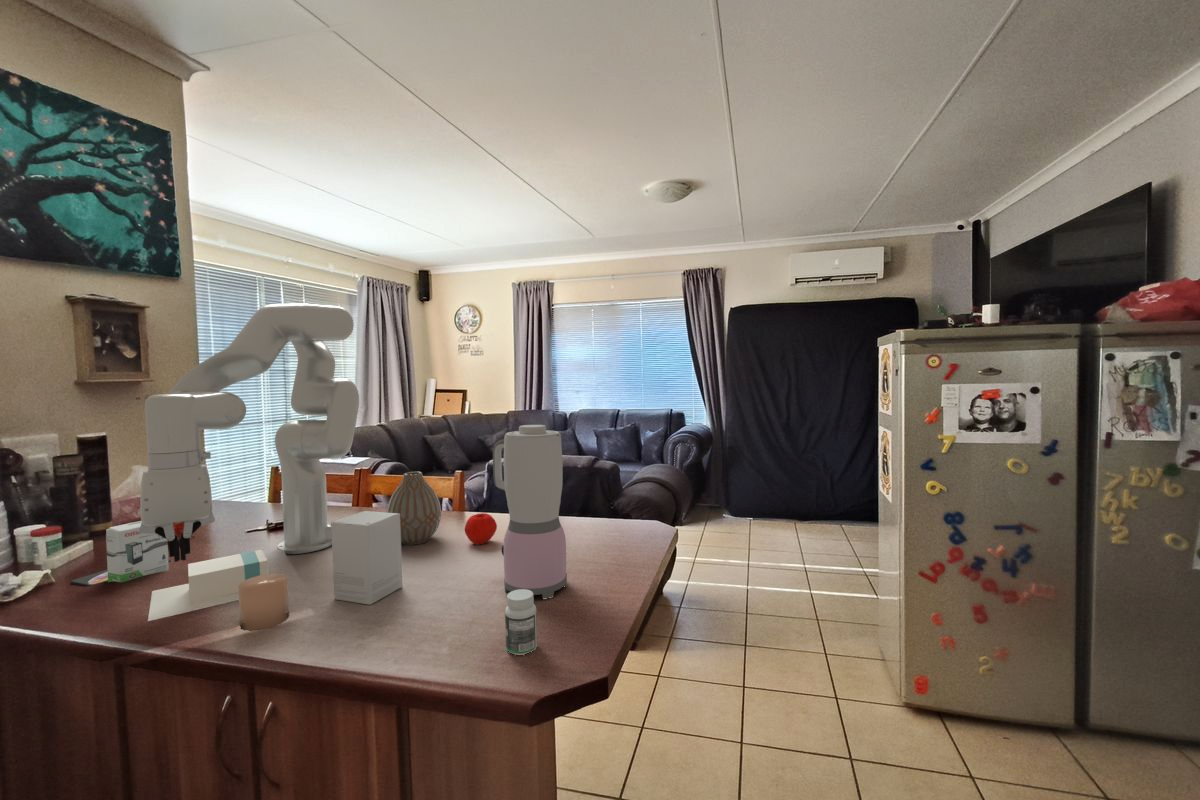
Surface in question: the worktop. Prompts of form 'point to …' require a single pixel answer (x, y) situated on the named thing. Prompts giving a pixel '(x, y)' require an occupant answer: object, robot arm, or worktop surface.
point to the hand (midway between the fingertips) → (180, 558)
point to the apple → (480, 528)
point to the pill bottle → (521, 622)
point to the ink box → (134, 552)
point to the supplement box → (366, 556)
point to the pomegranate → (179, 529)
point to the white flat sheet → (180, 602)
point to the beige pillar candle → (263, 601)
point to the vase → (415, 509)
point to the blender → (532, 509)
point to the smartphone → (93, 579)
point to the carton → (224, 574)
